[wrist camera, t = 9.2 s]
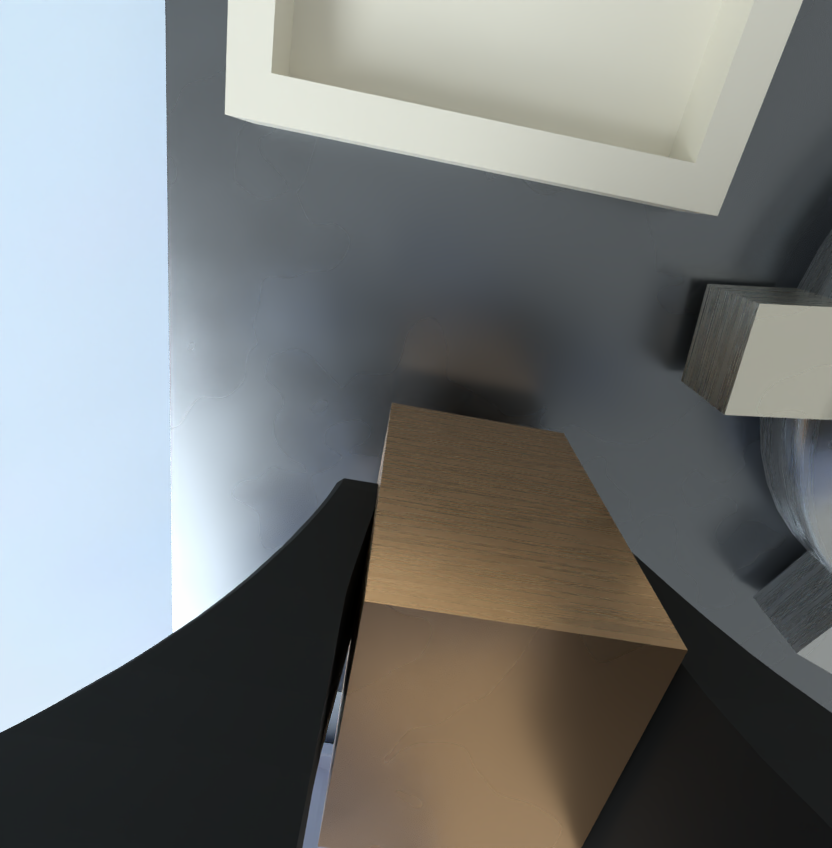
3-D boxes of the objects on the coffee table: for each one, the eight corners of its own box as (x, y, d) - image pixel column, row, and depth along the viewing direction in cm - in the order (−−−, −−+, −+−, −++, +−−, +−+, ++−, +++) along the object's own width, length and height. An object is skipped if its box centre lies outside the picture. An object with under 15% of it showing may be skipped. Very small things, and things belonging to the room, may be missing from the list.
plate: (984, 758, 16) (1010, 785, 15) (185, 643, 15) (172, 668, 14) (1830, -96, 8) (1973, -124, 7) (188, -569, 6) (158, -665, 6)
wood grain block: (508, 599, 11) (566, 876, 7) (359, 576, 11) (317, 846, 7) (563, 433, 10) (687, 650, 5) (391, 402, 10) (363, 600, 5)
